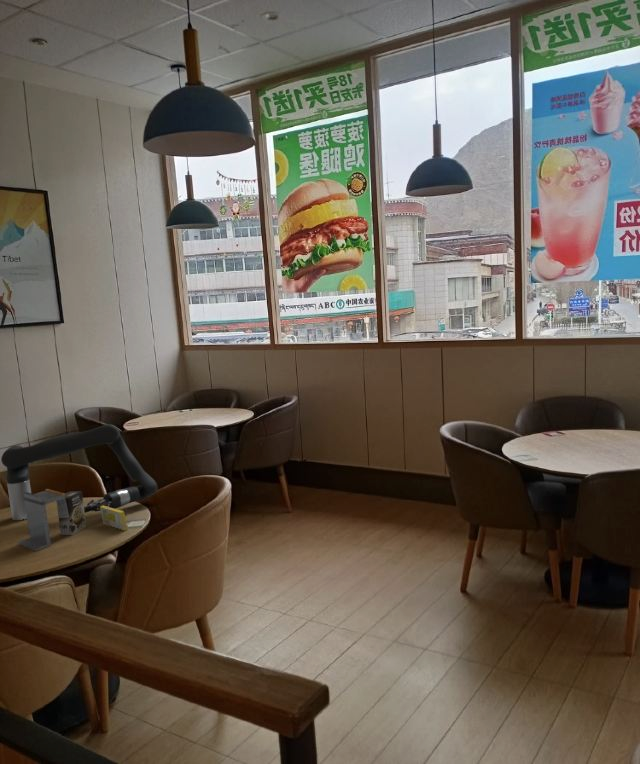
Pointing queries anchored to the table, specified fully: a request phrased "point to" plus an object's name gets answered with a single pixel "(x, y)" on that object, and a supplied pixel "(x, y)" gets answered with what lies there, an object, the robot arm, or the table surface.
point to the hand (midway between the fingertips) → (81, 510)
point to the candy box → (113, 517)
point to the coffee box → (71, 513)
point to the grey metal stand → (39, 518)
